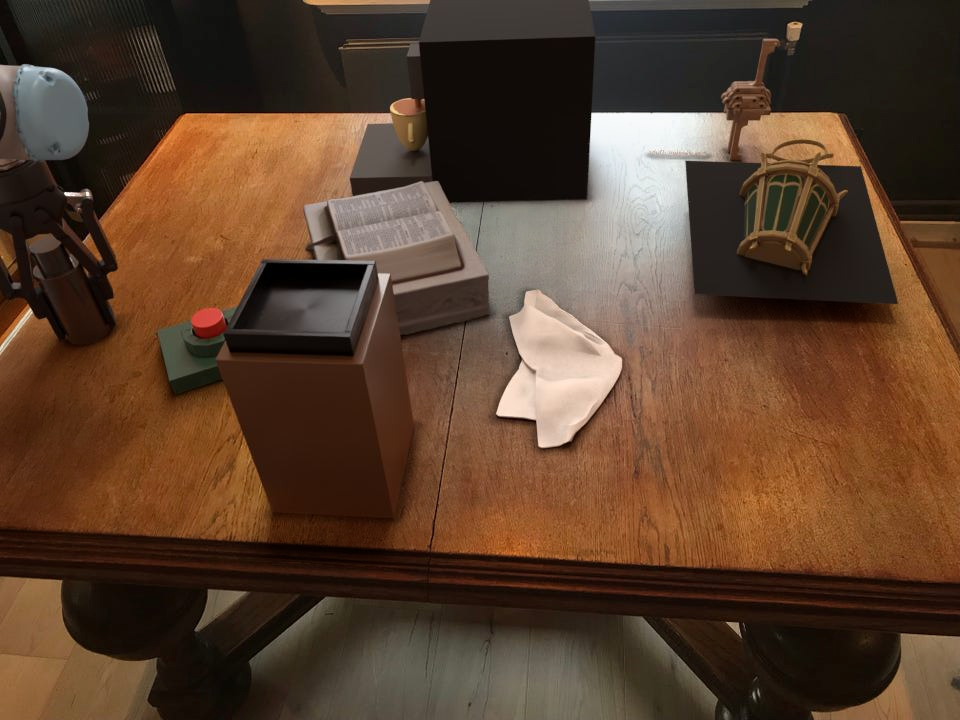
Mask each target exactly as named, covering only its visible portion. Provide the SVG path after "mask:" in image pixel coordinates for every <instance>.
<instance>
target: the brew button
mask: <svg viewBox="0 0 960 720" xmlns="http://www.w3.org/2000/svg"><path fill="white" fill-rule="evenodd" d="M220 310H221V309H219V308H216V307H208V308H207V307H206V308H203V309H200V310H197V312H196V313H194V314H193V315H192V317H191V318H190V319H191V324H192V326H193V329H194V331H195V334H196V335H197V336H198V337H199V338H202V339H209V338H213V337H216V336H219V335H220V334H221V333H223V332H224V331H225V329H226V322H225V319H224V316H223V313H222V312H221V311H220Z"/></svg>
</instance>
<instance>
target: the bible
mask: <svg viewBox="0 0 960 720" xmlns="http://www.w3.org/2000/svg"><path fill="white" fill-rule="evenodd" d="M302 207H303V208H302V210H303V216H304V220H305V222H306V227H307V231H308V235H309V239H310V240H309V241H310V243H309V244H308V245H307V246H306V247H305V249H304V251H305V252H312V255H313V260H358V261H376V266H377V272H378V273H384V274H391V280H392V286H393V292H394V299H395V305H396V312H397V318H398V325H399V331H400V336H404V335H406V336H408V335H410V334H416V333H420V332H423V331H428V330H429V331H430V330H433V329H437V328H440V327H446V326H449V325H452V324H459V323H461V324H462V323H463V322H469V321H471V320H474V319H478V318H481V317H484V316H488V315H490V313H491V312H490V305H489V304H490V303H489V300H490V285H489V283H490V281H489V279H490V274H489V271H488V269H487V268H486V266H485V264H484V263H483V261H482V259H481V257H480V256H479V254H478V252H477V250H476V248H475V247H474V244H473V243H472V241H471V238H470V236H469V235H468V232H467V231H466V229H465V228H464V225H463V224H462V222H461V221H460V219H459V218H458V216H457V214H456V213H455V210H454V209H453V207H452V205H451V202H449V201H448V200H447V198H446V196H445V194H444V192H443V190H442V188H441V186H440V183H439V182H438V181H433V182H428V183H424V182H423V181H420V182H417V183H414V184H411V185H408V186H405V187H400V188H395V189H389V190H384V191H379V192H374V193H368V194H363V195H357V196H353V195H352V196H347V197H341V198H330V199H327V200H323V201H318V202H313V203H308V204H304V205H302Z"/></svg>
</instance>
